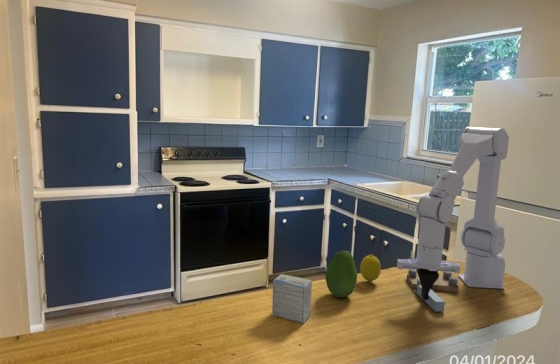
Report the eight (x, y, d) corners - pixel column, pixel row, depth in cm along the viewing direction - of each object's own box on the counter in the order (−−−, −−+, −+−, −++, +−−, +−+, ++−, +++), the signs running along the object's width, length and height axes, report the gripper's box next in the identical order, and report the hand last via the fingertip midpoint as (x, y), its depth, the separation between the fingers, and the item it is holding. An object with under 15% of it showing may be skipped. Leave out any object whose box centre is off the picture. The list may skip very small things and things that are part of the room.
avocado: (360, 294, 104) (363, 249, 102) (348, 305, 97) (351, 258, 95) (332, 286, 108) (334, 243, 106) (318, 297, 101) (321, 251, 99)
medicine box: (311, 315, 92) (312, 279, 90) (303, 324, 88) (305, 287, 86) (279, 308, 95) (280, 273, 94) (271, 316, 91) (272, 279, 90)
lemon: (378, 278, 114) (380, 251, 113) (380, 286, 109) (383, 258, 108) (358, 277, 115) (360, 250, 114) (360, 285, 109) (362, 257, 108)
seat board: (449, 281, 114) (450, 271, 113) (458, 291, 107) (459, 280, 107) (406, 279, 115) (407, 269, 114) (412, 289, 108) (413, 278, 108)
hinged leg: (415, 292, 105) (416, 283, 105) (423, 291, 106) (424, 283, 105) (435, 311, 95) (435, 301, 95) (443, 311, 95) (444, 301, 95)
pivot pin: (421, 289, 108) (422, 278, 107) (424, 294, 105) (425, 282, 105) (411, 289, 108) (412, 277, 107) (413, 293, 105) (415, 282, 105)
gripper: (404, 248, 94) (398, 303, 96) (467, 252, 93) (460, 307, 95) (397, 239, 101) (392, 290, 103) (456, 243, 100) (450, 294, 102)
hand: (424, 298), depth 99 cm, fingers closed, pressing on hinged leg
